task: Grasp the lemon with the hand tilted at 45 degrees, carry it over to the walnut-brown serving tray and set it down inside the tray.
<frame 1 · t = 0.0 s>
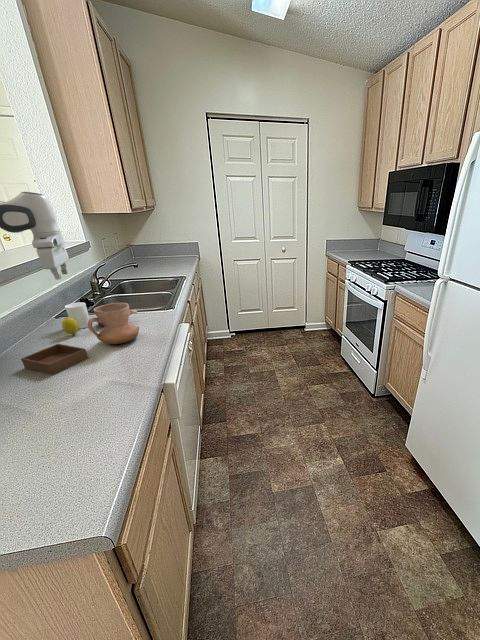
hand: (62, 276, 132), 24 cm above the counter, tool pointing down, fingers open, 8 cm apart
ceramic jug: (119, 341, 135), on the counter
cup and saucer: (113, 324, 152), on the counter
lemon: (73, 335, 141), on the counter
tray: (57, 363, 118), on the counter
white cup: (82, 326, 150), on the counter
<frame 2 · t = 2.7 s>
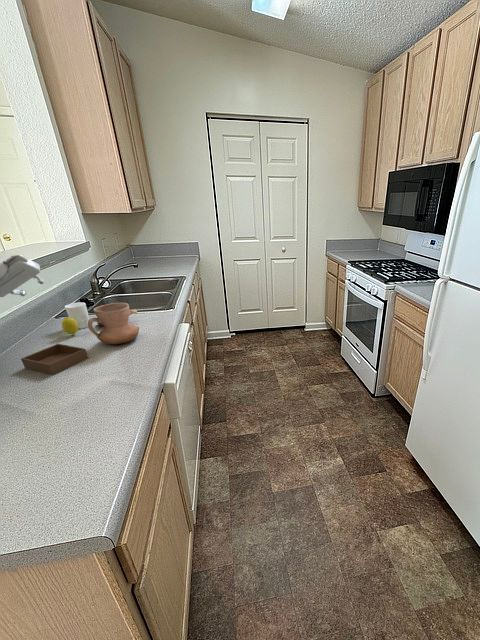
hand: (34, 288, 130), 21 cm above the counter, tool tilted 45°, fingers open, 8 cm apart
nothing on the counter moved.
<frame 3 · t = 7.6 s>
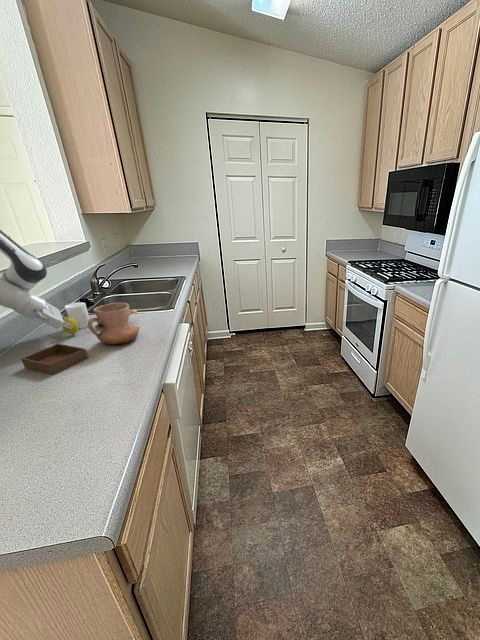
hand: (71, 325, 139), 4 cm above the counter, tool tilted 45°, fingers closed on lemon, 5 cm apart
lemon: (73, 335, 141), on the counter, touching gripper
everything else where it was.
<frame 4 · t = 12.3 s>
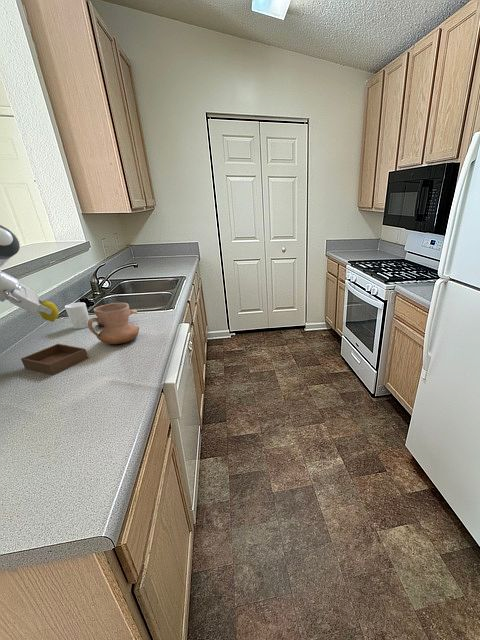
hand: (50, 310, 119), 16 cm above the counter, tool tilted 45°, fingers closed on lemon, 5 cm apart
lemon: (53, 322, 121), point 12 cm above the counter, touching gripper
everything else where it was.
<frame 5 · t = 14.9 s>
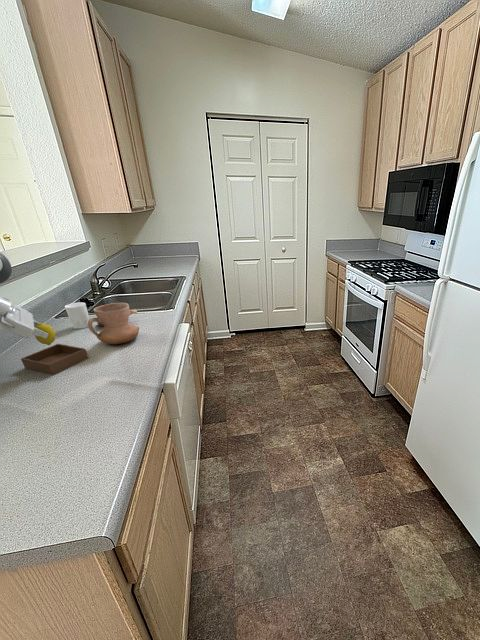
hand: (46, 333, 112), 12 cm above the counter, tool tilted 45°, fingers closed on lemon, 5 cm apart
lemon: (49, 345, 114), point 7 cm above the counter, touching gripper
everything else where it was.
when the fingers open (5 cm above the counter, at t = 17.2 s): lemon stays where it is, resting on tray.
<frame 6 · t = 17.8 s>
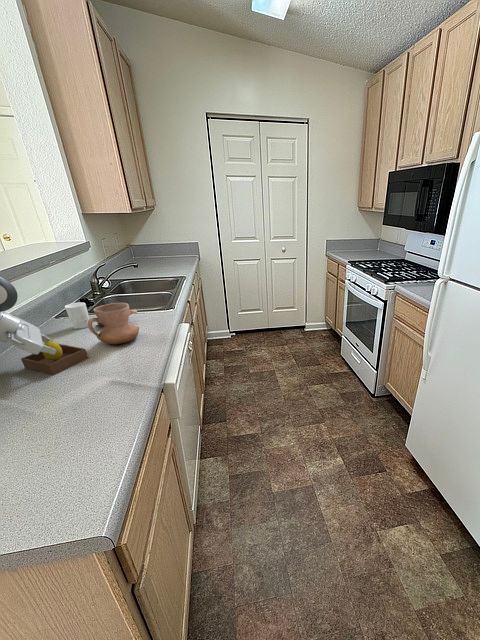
hand: (54, 347, 115), 6 cm above the counter, tool tilted 45°, fingers open, 8 cm apart
lemon: (56, 362, 117), point 1 cm above the counter, touching tray
everything else where it was.
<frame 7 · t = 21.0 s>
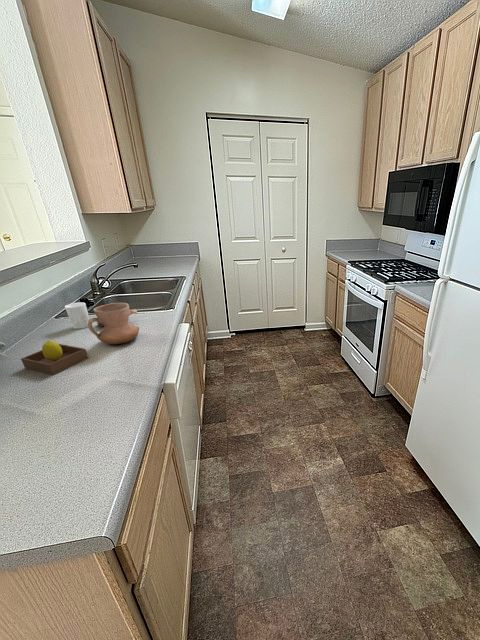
hand: (5, 352, 107), 8 cm above the counter, tool tilted 45°, fingers open, 8 cm apart
nothing on the counter moved.
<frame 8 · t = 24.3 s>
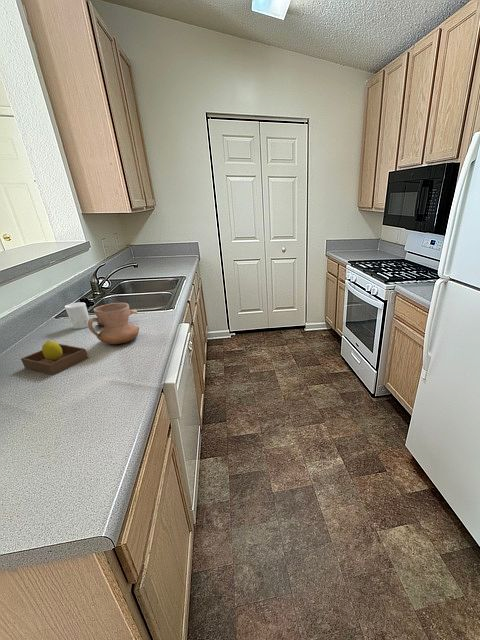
nothing on the counter moved.
at the end: lemon inside the target area in the tray (0.4 cm from its centre), point 0.6 cm above the tray's base; the gripper is holding nothing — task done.
